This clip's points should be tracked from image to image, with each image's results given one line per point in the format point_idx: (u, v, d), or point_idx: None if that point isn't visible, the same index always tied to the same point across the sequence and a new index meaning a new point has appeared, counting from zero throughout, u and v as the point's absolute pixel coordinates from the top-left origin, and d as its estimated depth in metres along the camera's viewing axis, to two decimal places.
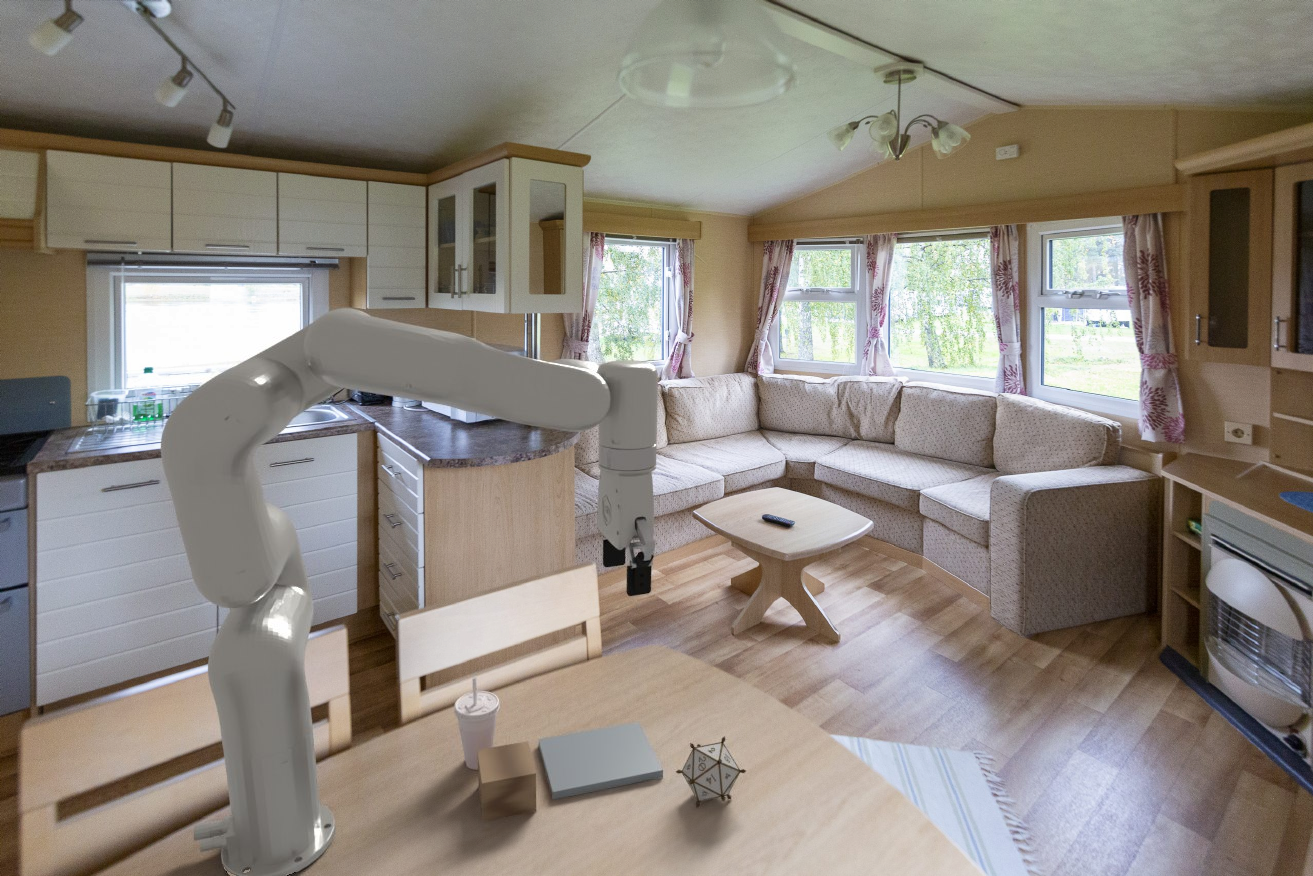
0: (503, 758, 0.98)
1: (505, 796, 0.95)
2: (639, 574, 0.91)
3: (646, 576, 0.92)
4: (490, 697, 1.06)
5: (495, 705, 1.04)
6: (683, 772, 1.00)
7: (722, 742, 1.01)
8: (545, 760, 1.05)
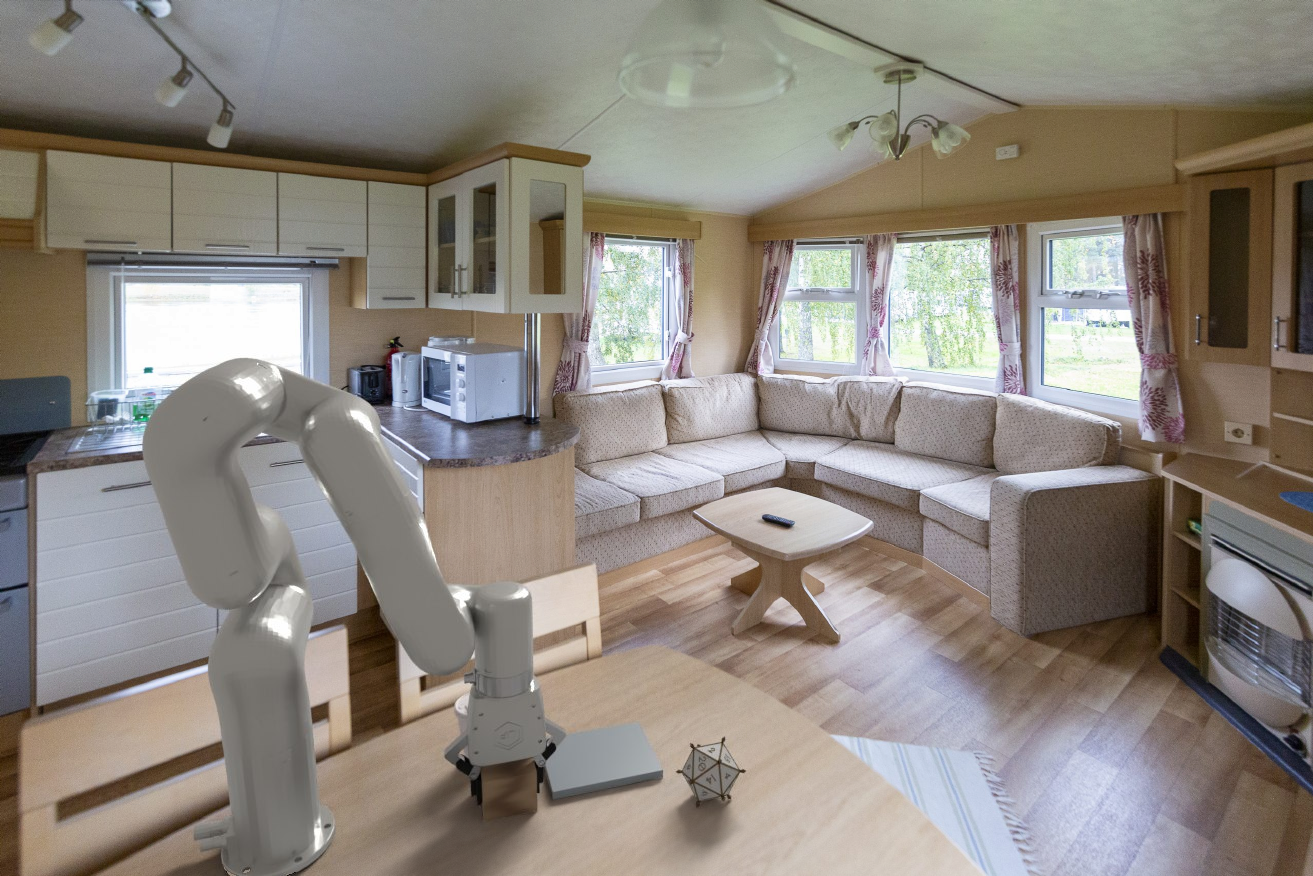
0: None
1: (506, 795, 0.95)
2: None
3: None
4: None
5: None
6: (683, 772, 1.00)
7: (722, 742, 1.01)
8: None
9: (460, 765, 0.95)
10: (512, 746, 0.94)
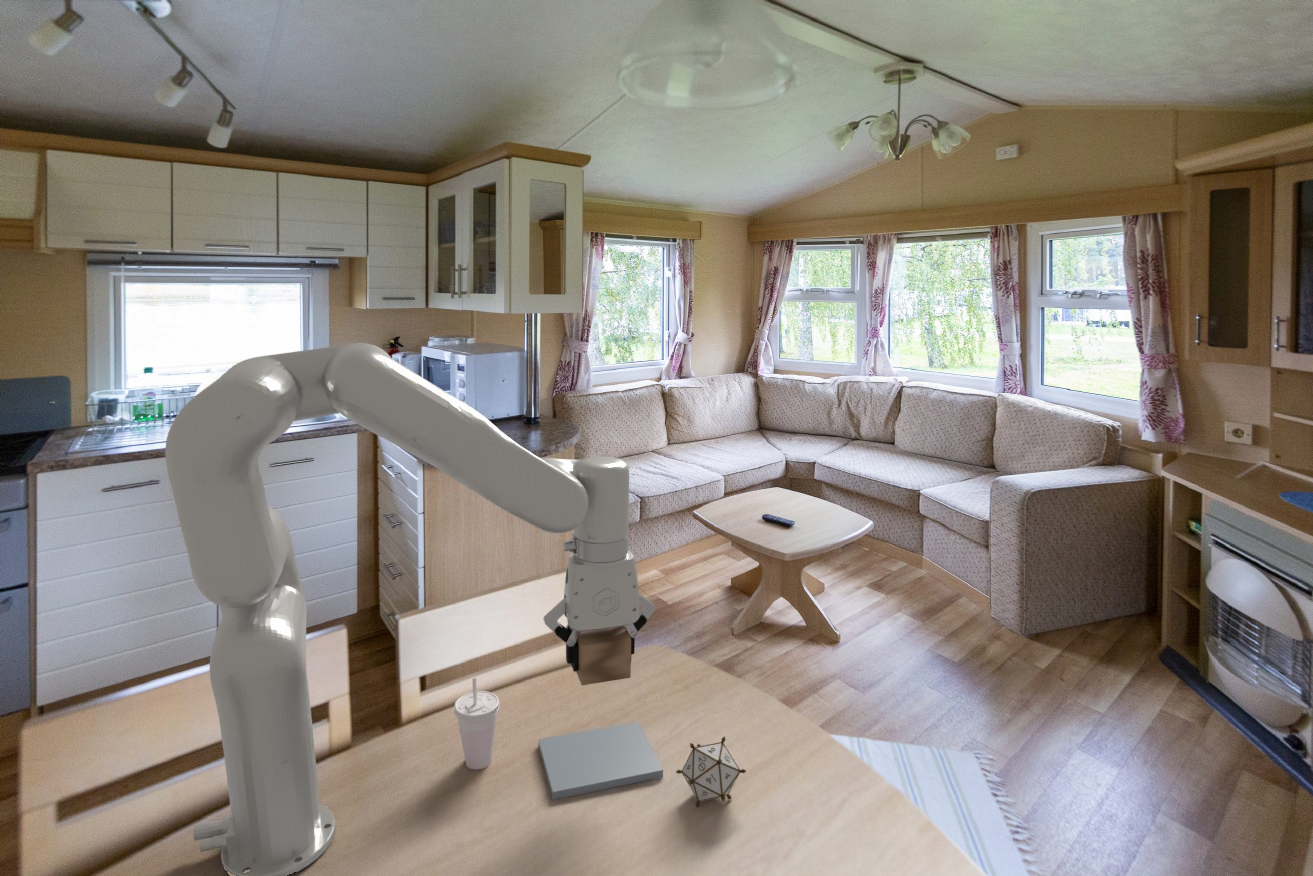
0: None
1: (603, 660, 1.00)
2: None
3: None
4: (490, 697, 1.06)
5: (495, 705, 1.04)
6: (683, 772, 1.00)
7: (722, 742, 1.01)
8: (545, 760, 1.05)
9: (559, 631, 0.99)
10: (609, 613, 0.99)
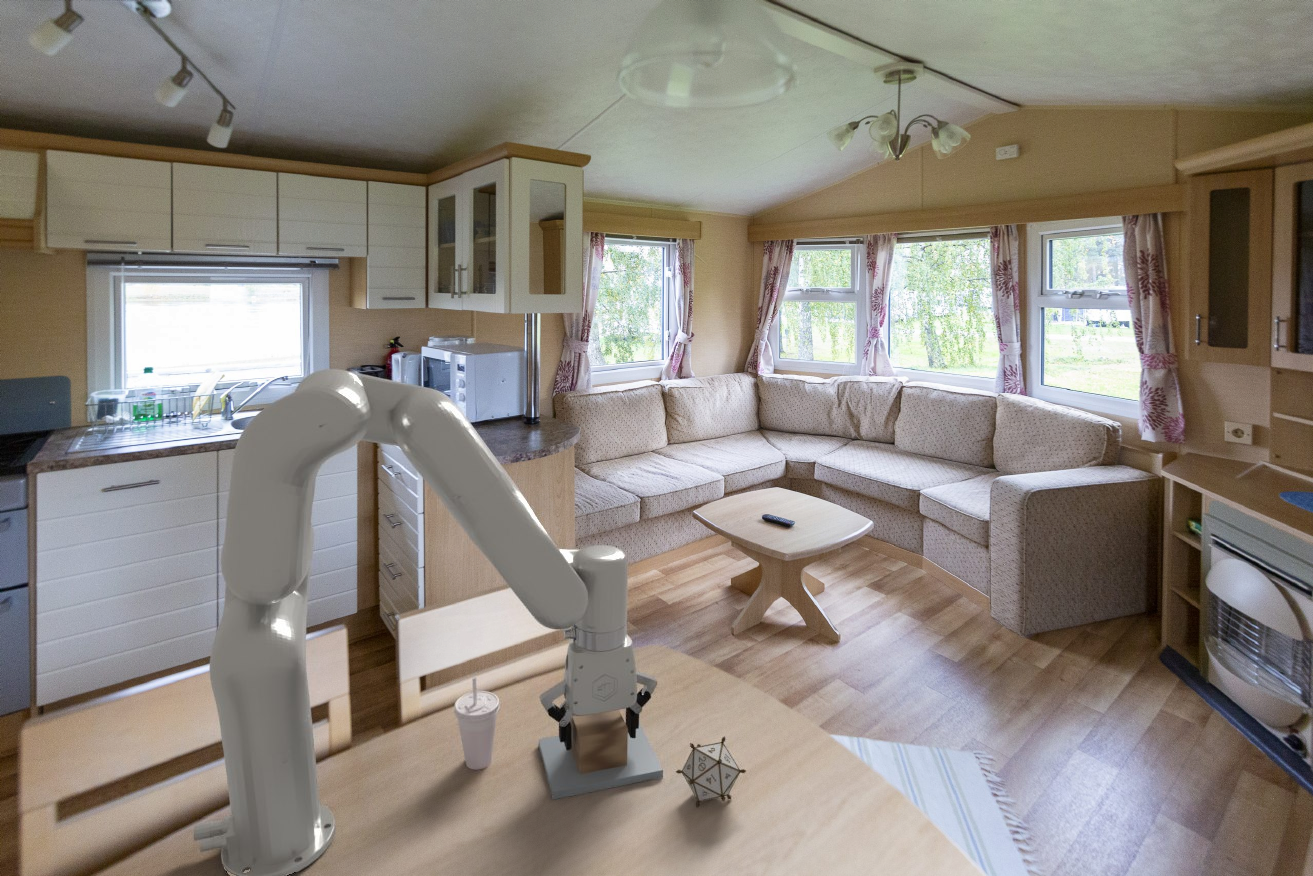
0: (594, 715, 1.06)
1: (600, 749, 1.03)
2: None
3: None
4: (490, 697, 1.06)
5: (495, 705, 1.04)
6: (683, 772, 1.00)
7: (722, 742, 1.01)
8: (545, 760, 1.05)
9: (552, 712, 1.02)
10: (607, 697, 1.02)
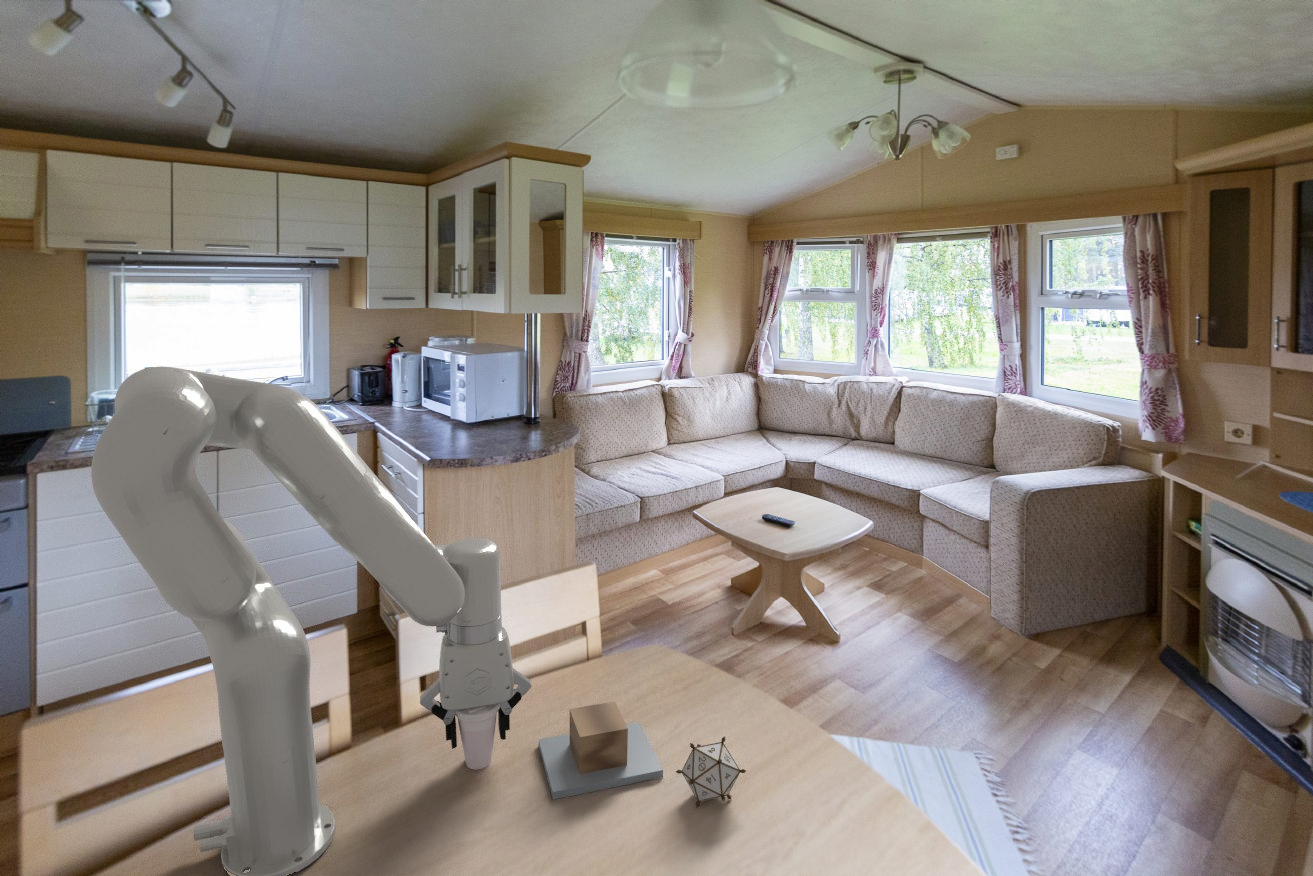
0: (594, 715, 1.06)
1: (600, 749, 1.03)
2: None
3: None
4: None
5: (495, 705, 1.04)
6: (683, 772, 1.00)
7: (722, 742, 1.01)
8: (545, 760, 1.05)
9: (435, 710, 1.02)
10: (481, 691, 1.01)
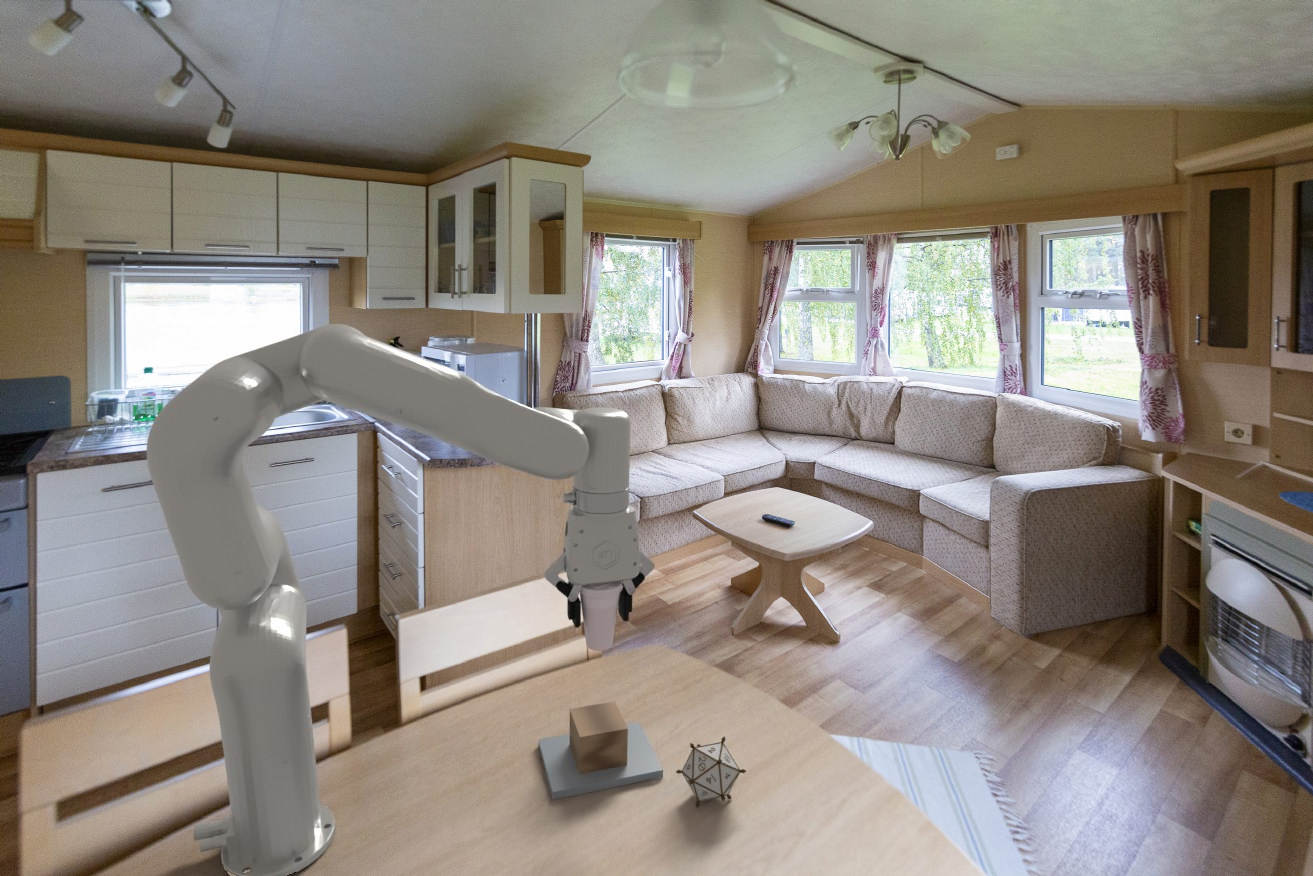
0: (594, 715, 1.06)
1: (600, 749, 1.03)
2: None
3: None
4: None
5: (619, 583, 1.00)
6: (683, 772, 1.00)
7: (722, 742, 1.01)
8: (545, 760, 1.05)
9: (561, 586, 0.98)
10: (609, 566, 0.97)
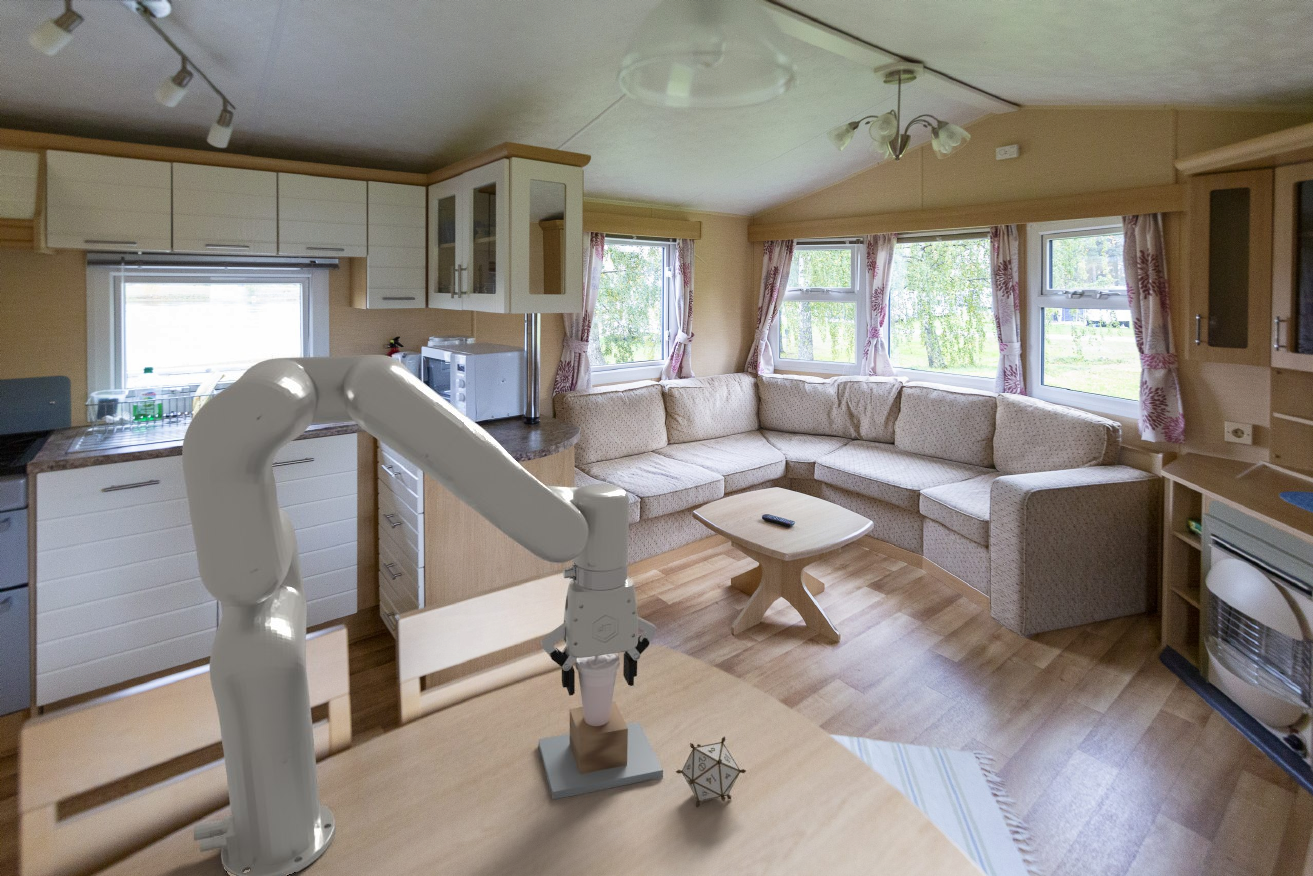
0: None
1: (600, 749, 1.03)
2: None
3: None
4: None
5: (616, 661, 1.03)
6: (683, 772, 1.00)
7: (722, 742, 1.01)
8: (545, 760, 1.05)
9: (555, 655, 1.00)
10: (608, 639, 1.00)
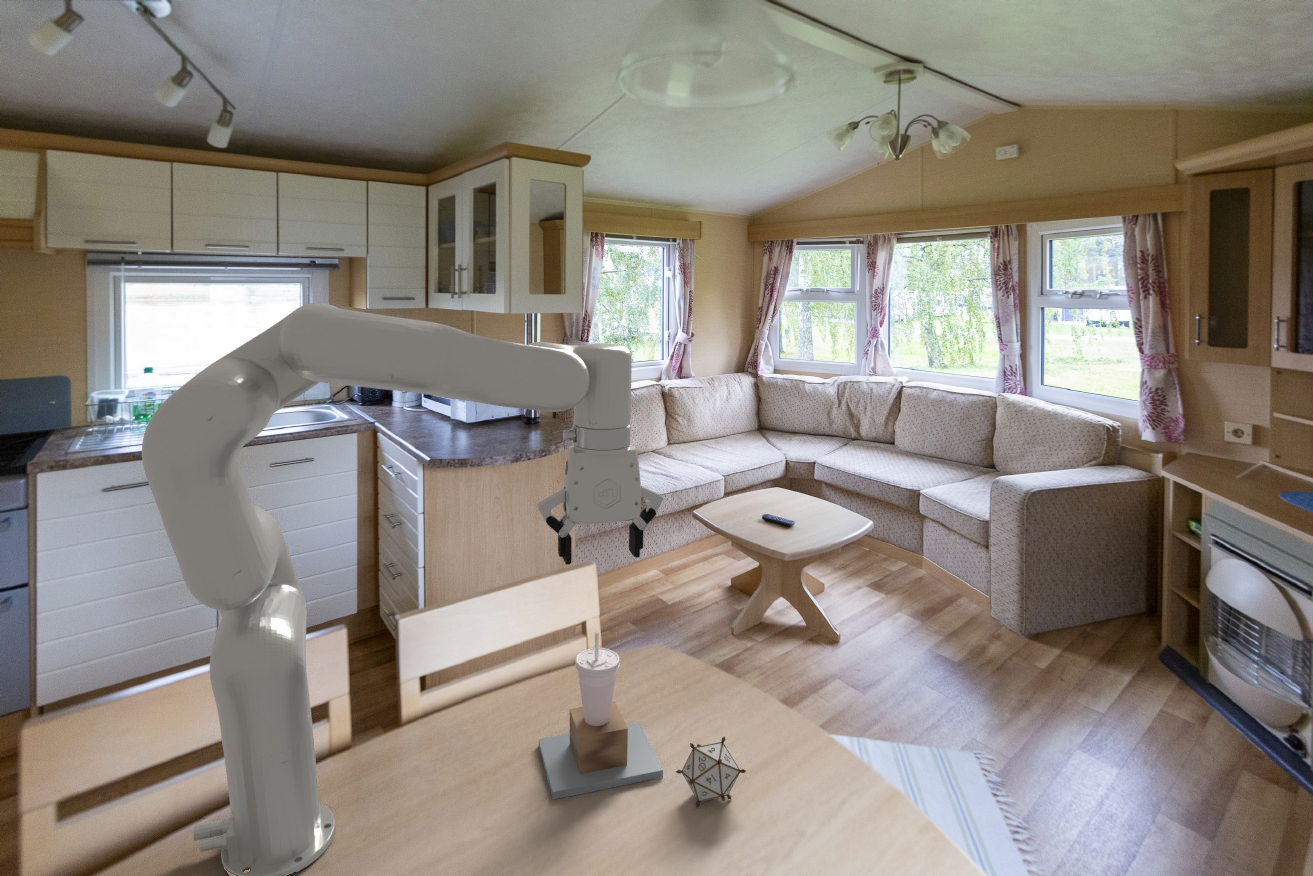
0: None
1: (600, 749, 1.03)
2: None
3: None
4: (609, 653, 1.05)
5: (616, 661, 1.03)
6: (683, 772, 1.00)
7: (722, 742, 1.01)
8: (545, 760, 1.05)
9: (551, 521, 0.95)
10: (610, 505, 0.96)
